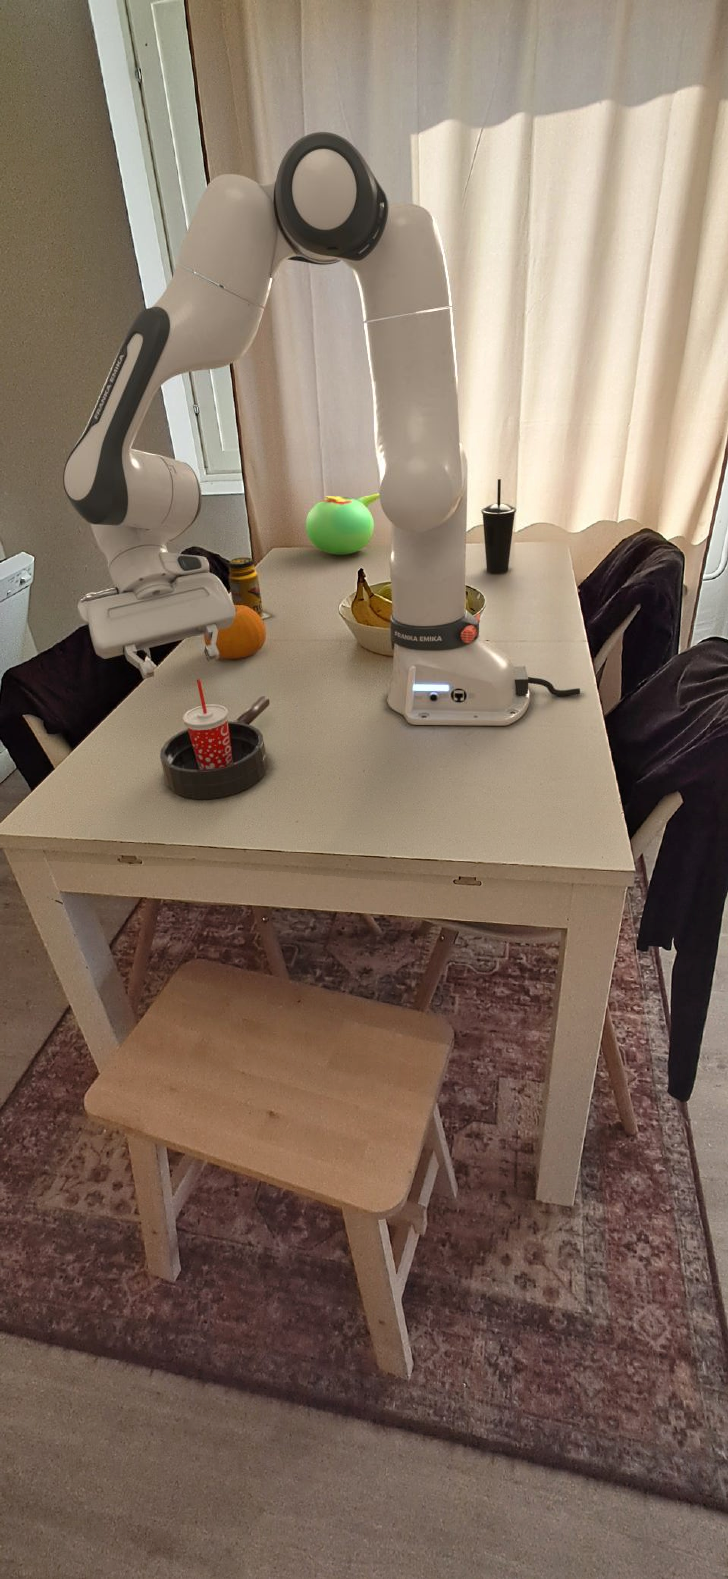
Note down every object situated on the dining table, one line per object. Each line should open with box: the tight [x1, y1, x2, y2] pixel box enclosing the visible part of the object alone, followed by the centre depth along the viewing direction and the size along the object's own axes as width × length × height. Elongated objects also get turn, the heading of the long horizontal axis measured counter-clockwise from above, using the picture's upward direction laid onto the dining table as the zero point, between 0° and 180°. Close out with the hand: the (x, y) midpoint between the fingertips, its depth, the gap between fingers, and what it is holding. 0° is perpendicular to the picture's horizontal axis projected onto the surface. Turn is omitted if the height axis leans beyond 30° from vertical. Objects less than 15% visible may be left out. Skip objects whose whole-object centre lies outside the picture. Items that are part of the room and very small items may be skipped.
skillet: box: [159, 720, 269, 800], centre depth 107 cm, size 14×14×4 cm
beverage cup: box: [182, 679, 233, 770], centre depth 104 cm, size 6×6×14 cm
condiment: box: [227, 556, 271, 620], centre depth 160 cm, size 7×8×12 cm
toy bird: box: [305, 493, 380, 556], centre depth 196 cm, size 18×17×15 cm
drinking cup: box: [480, 478, 517, 575], centre depth 172 cm, size 8×8×20 cm
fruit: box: [203, 605, 267, 660], centre depth 144 cm, size 12×12×10 cm
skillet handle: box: [230, 695, 271, 733], centre depth 115 cm, size 10×2×2 cm, turn 160°
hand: (182, 667), depth 106 cm, fingers open, 8 cm apart
